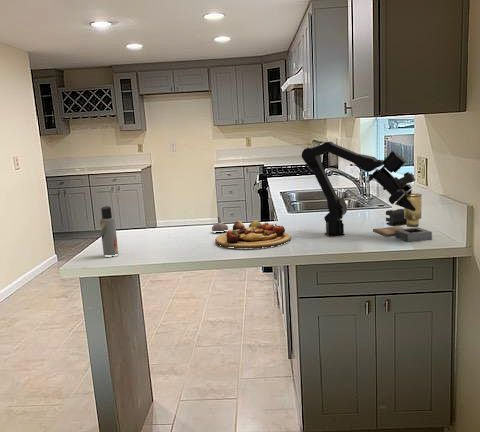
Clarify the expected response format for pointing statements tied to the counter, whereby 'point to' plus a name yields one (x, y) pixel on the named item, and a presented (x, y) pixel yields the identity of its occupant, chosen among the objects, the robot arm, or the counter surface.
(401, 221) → the end cap
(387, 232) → the walnut board
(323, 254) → the counter surface
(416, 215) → the end plug
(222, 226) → the garlic bulb
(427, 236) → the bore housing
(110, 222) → the lotion bottle
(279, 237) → the wooden plate with food
